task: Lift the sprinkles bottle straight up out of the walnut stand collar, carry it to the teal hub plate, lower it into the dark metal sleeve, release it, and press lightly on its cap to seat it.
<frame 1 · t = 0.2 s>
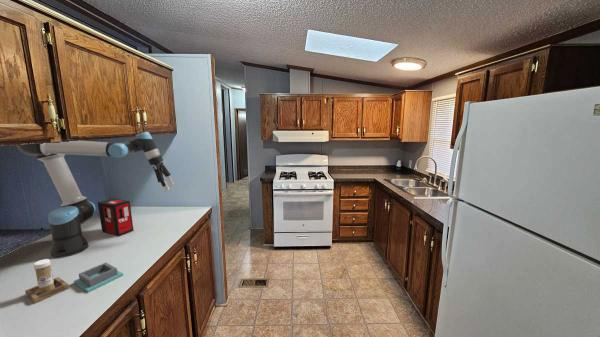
hand: (169, 188, 154), 28 cm above the worktop, tool tilted 20°, fingers open, 13 cm apart
stand collar: (47, 291, 100), on the worktop
cleaning product box: (118, 231, 156), on the worktop
hub plate: (99, 279, 108), on the worktop
sprinkles bottle: (48, 292, 100), resting in stand collar
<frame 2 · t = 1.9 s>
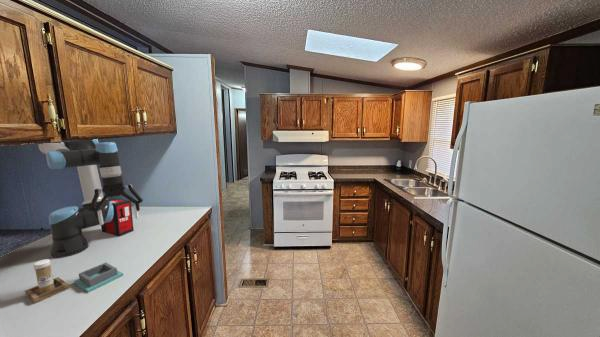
hand: (120, 221, 113), 23 cm above the worktop, tool pointing down, fingers open, 13 cm apart
nothing on the worktop moved.
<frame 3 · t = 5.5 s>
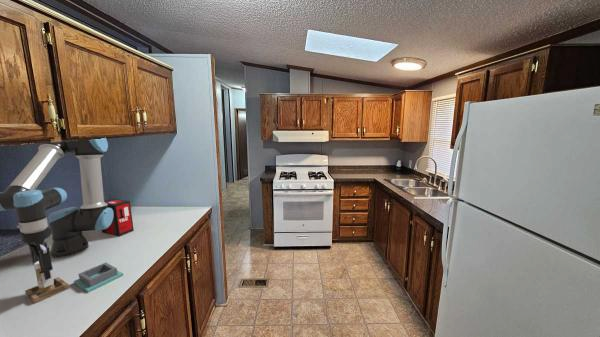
hand: (46, 283, 99), 4 cm above the worktop, tool pointing down, fingers closed on sprinkles bottle, 4 cm apart
sprinkles bottle: (48, 292, 100), resting in stand collar, touching gripper
everything else where it was.
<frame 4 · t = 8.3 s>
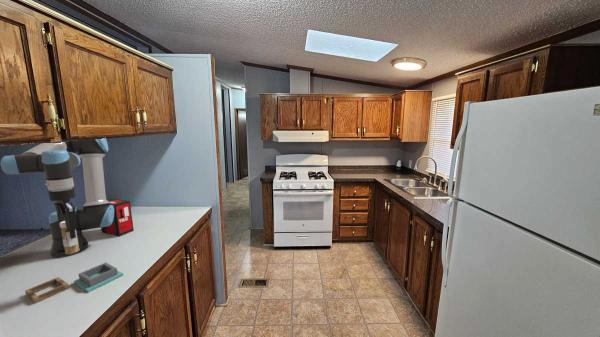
hand: (71, 243, 101), 19 cm above the worktop, tool pointing down, fingers closed on sprinkles bottle, 4 cm apart
sprinkles bottle: (72, 252, 101), point 15 cm above the worktop, touching gripper
everything else where it was.
when the fingers open (6 cm above the worktop, at t = 11.4 s): sprinkles bottle drops 1 cm, resting on hub plate.
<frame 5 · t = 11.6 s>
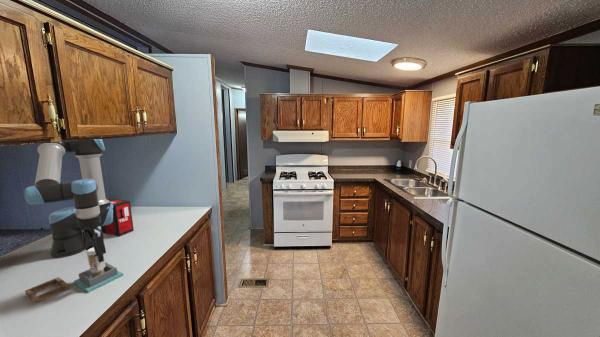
hand: (97, 265, 106), 7 cm above the worktop, tool pointing down, fingers open, 7 cm apart
sprinkles bottle: (99, 277, 107), point 1 cm above the worktop, touching hub plate
everything else where it was.
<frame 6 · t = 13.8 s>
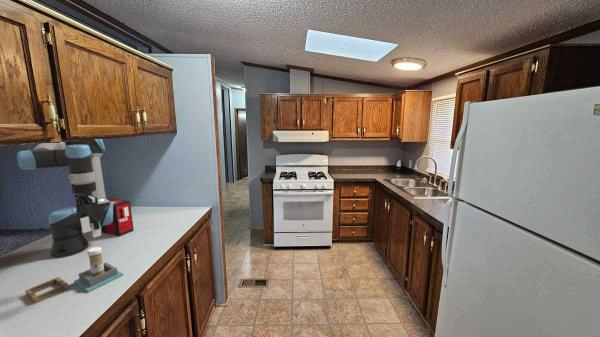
hand: (91, 234, 104), 21 cm above the worktop, tool pointing down, fingers open, 9 cm apart
nothing on the worktop moved.
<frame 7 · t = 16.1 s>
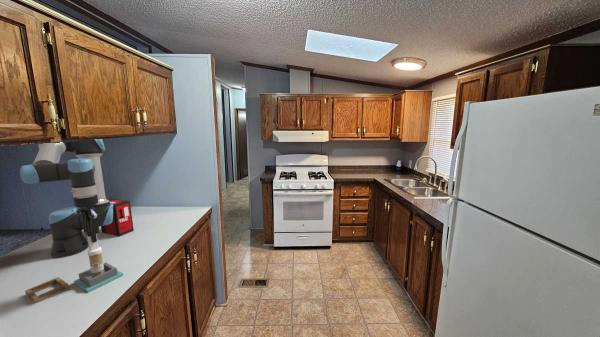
hand: (94, 248, 105), 15 cm above the worktop, tool pointing down, fingers closed
sprinkles bottle: (99, 277, 107), point 1 cm above the worktop, touching gripper, hub plate
everything else where it was.
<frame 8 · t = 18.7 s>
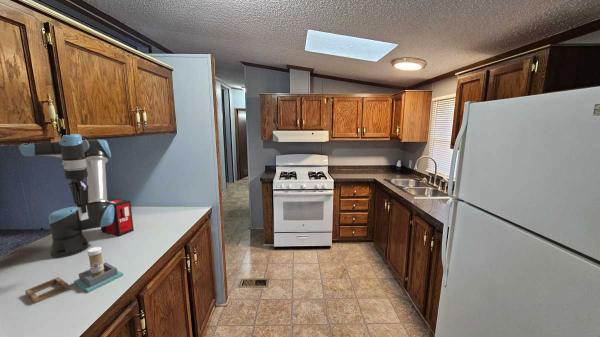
hand: (84, 219, 112), 24 cm above the worktop, tool pointing down, fingers closed
cleaning product box: (117, 231, 156), on the worktop, touching arm
sprinkles bottle: (99, 277, 107), point 1 cm above the worktop, touching hub plate
at the end: sprinkles bottle 0.0 cm off-centre on the hub plate, point 0.8 cm above the hub plate's base; sprinkles bottle tilted 0°; the gripper is holding nothing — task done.
